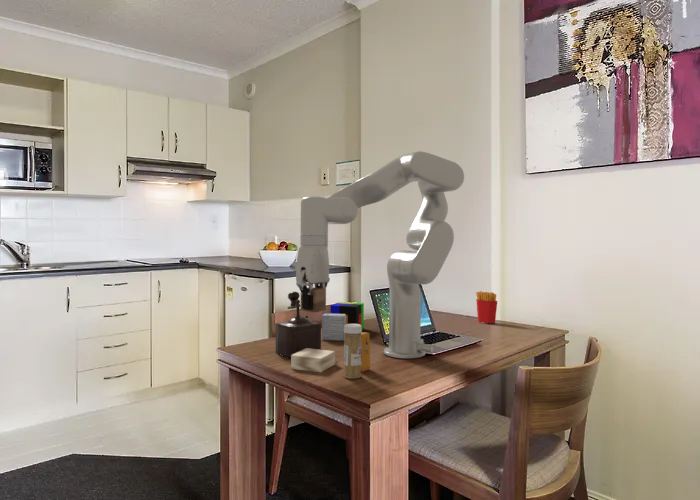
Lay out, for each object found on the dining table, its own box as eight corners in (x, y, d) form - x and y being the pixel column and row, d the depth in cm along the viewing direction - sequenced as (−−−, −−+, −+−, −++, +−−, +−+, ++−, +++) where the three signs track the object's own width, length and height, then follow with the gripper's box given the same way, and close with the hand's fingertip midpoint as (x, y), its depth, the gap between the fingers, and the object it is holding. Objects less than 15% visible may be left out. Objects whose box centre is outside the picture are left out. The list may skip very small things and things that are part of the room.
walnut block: (325, 309, 135) (325, 288, 135) (315, 312, 131) (315, 290, 131) (310, 308, 138) (311, 287, 138) (300, 310, 133) (300, 288, 133)
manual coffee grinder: (323, 354, 149) (324, 295, 148) (293, 360, 142) (293, 298, 141) (295, 344, 161) (295, 290, 160) (266, 349, 153) (266, 292, 153)
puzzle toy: (330, 332, 182) (330, 305, 181) (338, 327, 191) (339, 301, 191) (356, 334, 179) (356, 306, 178) (363, 328, 188) (363, 303, 188)
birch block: (334, 365, 137) (335, 351, 137) (320, 373, 129) (320, 358, 129) (306, 361, 141) (306, 348, 141) (291, 369, 133) (291, 355, 132)
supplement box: (360, 367, 134) (360, 331, 134) (370, 369, 132) (370, 332, 132) (352, 369, 132) (353, 332, 131) (362, 372, 130) (363, 334, 129)
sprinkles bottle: (359, 379, 123) (360, 326, 122) (341, 378, 124) (342, 326, 123) (362, 374, 127) (362, 323, 127) (344, 373, 128) (345, 322, 128)
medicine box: (346, 338, 171) (346, 313, 171) (344, 341, 167) (344, 315, 166) (323, 337, 172) (323, 313, 171) (321, 340, 167) (321, 315, 167)
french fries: (498, 323, 201) (499, 292, 200) (492, 325, 198) (493, 293, 198) (479, 320, 208) (479, 290, 207) (473, 321, 205) (473, 291, 204)
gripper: (319, 241, 143) (319, 303, 144) (284, 242, 128) (283, 311, 129) (341, 242, 139) (341, 305, 140) (307, 242, 124) (306, 313, 125)
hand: (313, 307), depth 134 cm, fingers closed on walnut block, 5 cm apart
